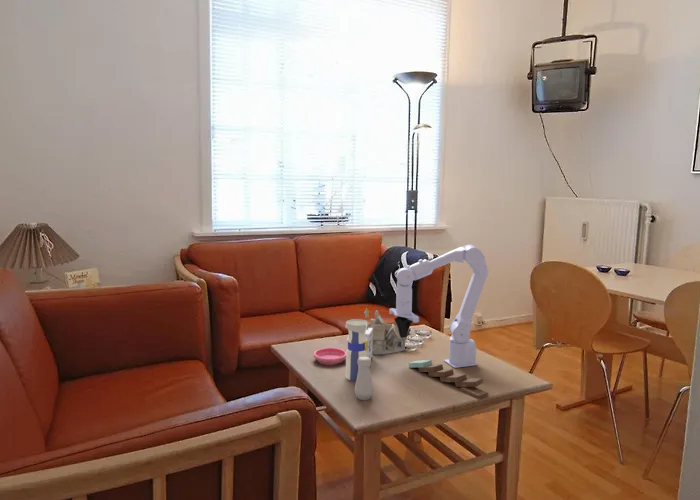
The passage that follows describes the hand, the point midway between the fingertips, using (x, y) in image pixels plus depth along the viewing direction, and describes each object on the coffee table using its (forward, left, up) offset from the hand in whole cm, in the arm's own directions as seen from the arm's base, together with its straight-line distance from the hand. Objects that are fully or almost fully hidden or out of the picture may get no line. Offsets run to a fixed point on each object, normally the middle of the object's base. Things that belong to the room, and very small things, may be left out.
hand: (403, 336), depth 197 cm
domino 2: (-3, +10, -9) cm, 14 cm away
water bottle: (+21, +8, -10) cm, 25 cm away
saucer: (+25, -10, -10) cm, 29 cm away
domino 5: (-8, +26, -9) cm, 28 cm away
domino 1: (-2, +5, -9) cm, 10 cm away
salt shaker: (+25, +25, -10) cm, 37 cm away
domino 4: (-6, +20, -9) cm, 23 cm away
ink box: (+13, -6, -10) cm, 17 cm away
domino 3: (-5, +15, -9) cm, 18 cm away
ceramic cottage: (0, -16, -10) cm, 19 cm away
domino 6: (-9, +29, -10) cm, 32 cm away
